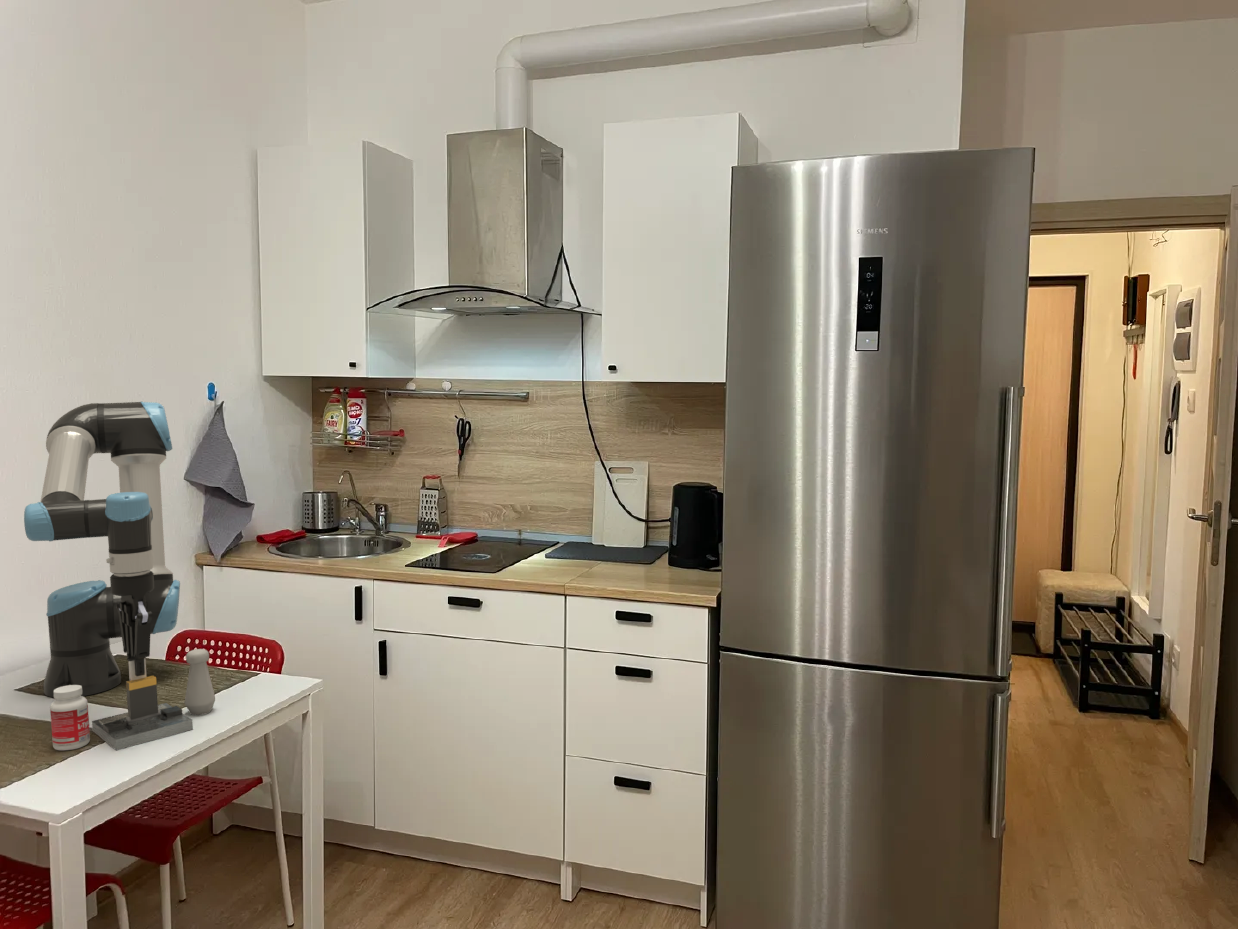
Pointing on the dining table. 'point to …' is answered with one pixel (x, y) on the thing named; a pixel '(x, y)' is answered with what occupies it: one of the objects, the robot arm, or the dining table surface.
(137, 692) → the paddle
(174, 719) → the panel
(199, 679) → the salt shaker
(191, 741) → the dining table surface
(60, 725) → the pill bottle
